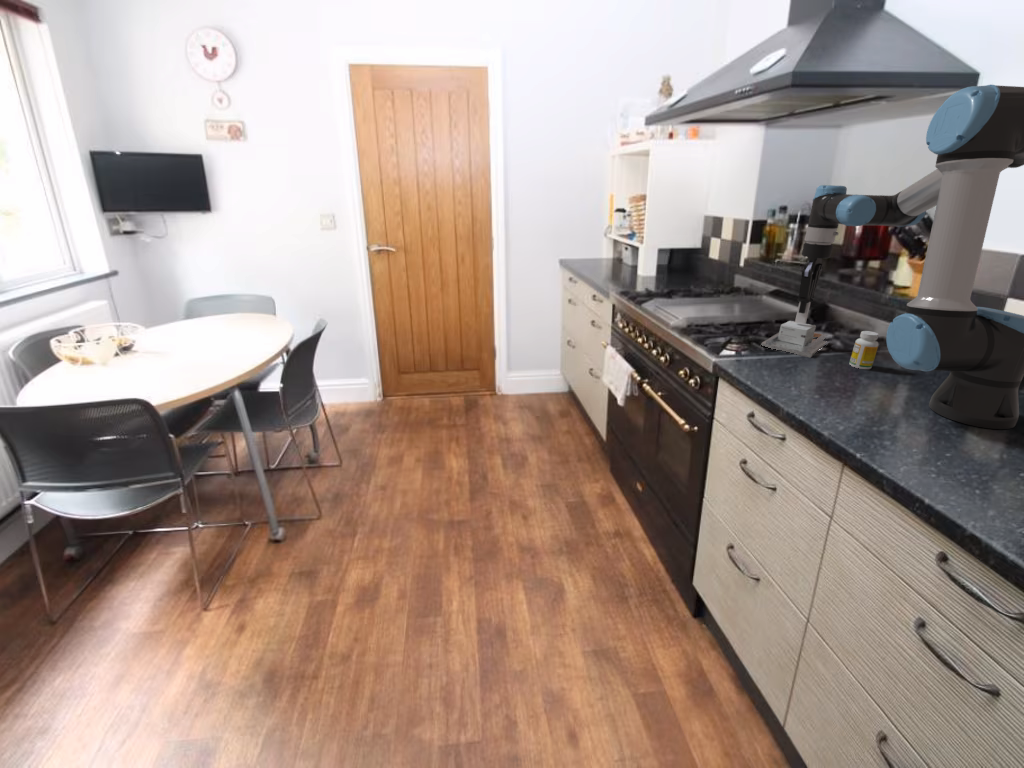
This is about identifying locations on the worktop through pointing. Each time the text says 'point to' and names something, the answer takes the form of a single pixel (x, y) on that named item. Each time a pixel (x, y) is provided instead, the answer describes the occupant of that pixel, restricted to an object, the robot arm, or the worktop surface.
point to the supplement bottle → (864, 350)
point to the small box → (796, 333)
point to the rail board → (796, 345)
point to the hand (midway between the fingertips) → (800, 322)
